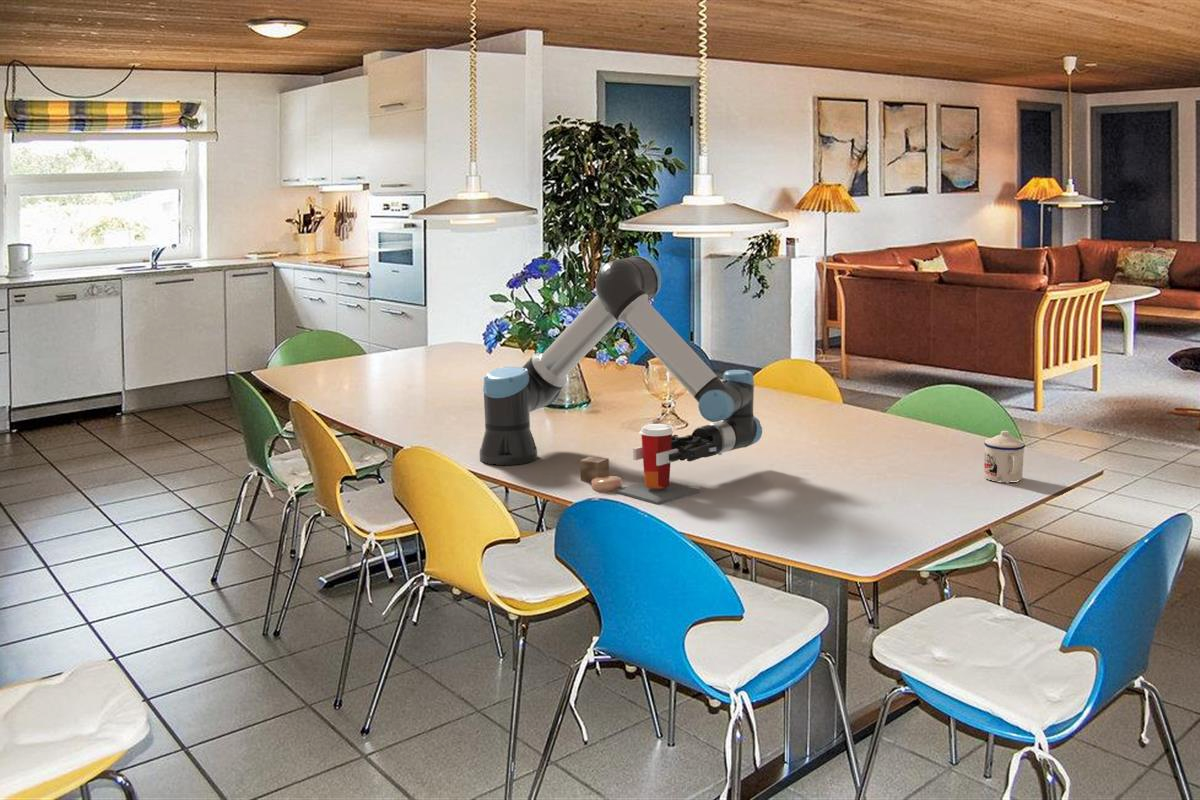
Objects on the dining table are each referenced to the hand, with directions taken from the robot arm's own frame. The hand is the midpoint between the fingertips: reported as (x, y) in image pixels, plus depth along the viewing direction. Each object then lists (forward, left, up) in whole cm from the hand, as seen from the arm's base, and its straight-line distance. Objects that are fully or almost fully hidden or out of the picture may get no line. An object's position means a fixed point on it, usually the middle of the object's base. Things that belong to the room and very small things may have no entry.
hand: (646, 456), depth 257 cm
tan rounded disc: (-11, -2, -9) cm, 14 cm away
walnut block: (-19, +2, -9) cm, 21 cm away
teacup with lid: (+53, +68, -9) cm, 86 cm away
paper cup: (0, +4, -8) cm, 8 cm away
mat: (0, +4, -9) cm, 10 cm away
